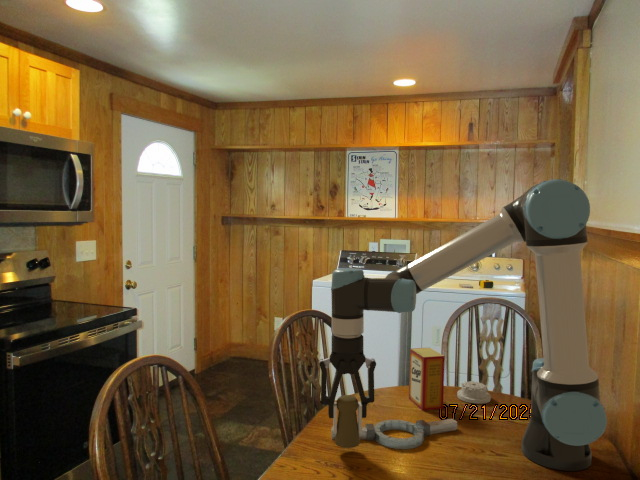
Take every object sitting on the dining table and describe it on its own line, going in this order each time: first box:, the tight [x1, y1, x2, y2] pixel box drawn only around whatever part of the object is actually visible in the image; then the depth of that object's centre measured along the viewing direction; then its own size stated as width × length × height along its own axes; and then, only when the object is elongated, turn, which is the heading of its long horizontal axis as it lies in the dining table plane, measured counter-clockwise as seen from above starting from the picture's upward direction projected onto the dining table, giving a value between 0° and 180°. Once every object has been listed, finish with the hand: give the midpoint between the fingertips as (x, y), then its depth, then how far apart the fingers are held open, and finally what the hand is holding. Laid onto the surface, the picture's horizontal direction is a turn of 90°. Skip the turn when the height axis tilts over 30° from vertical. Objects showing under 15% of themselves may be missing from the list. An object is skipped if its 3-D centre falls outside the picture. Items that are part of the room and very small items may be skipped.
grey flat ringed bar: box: [331, 418, 458, 450], centre depth 131 cm, size 33×13×3 cm, turn 91°
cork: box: [334, 394, 361, 449], centre depth 122 cm, size 6×6×11 cm
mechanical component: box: [456, 380, 492, 405], centre depth 159 cm, size 10×4×10 cm
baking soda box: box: [408, 347, 446, 412], centre depth 153 cm, size 10×6×16 cm
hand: (347, 430), depth 122 cm, fingers closed on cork, 5 cm apart
